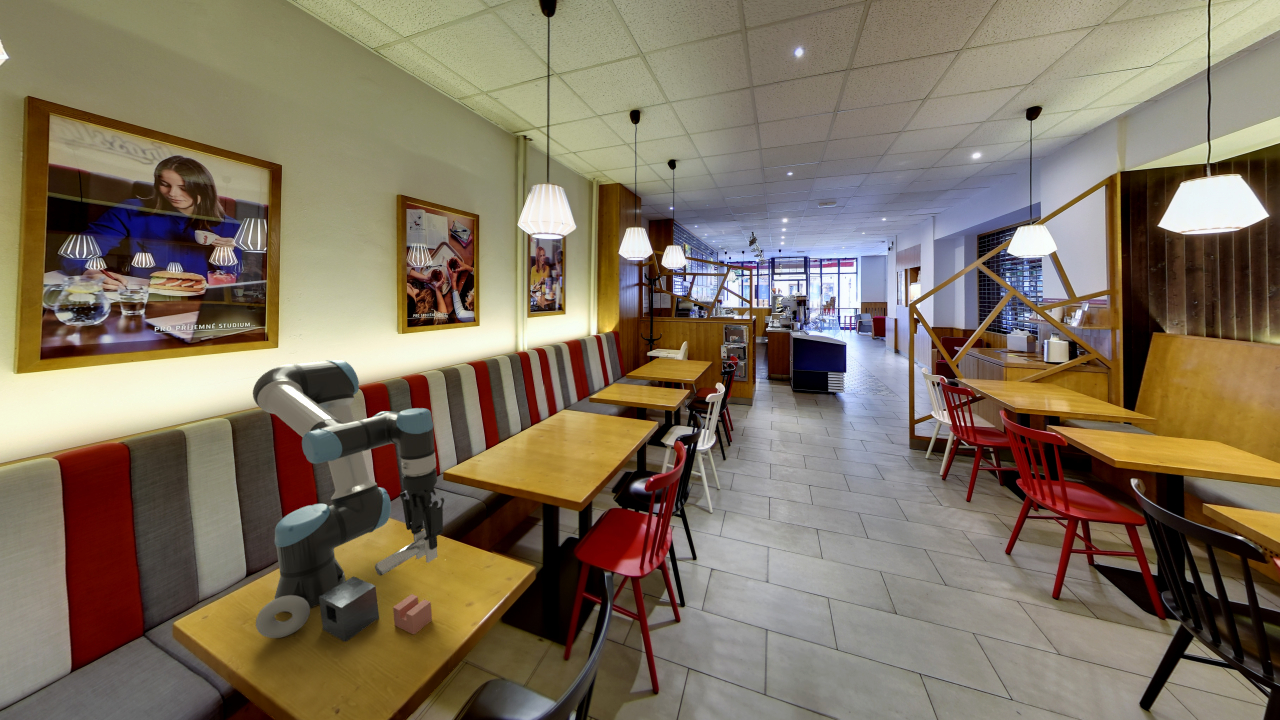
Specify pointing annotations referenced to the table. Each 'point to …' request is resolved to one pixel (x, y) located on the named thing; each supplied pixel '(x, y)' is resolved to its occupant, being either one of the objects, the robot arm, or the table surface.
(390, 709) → the table surface
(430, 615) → the v block
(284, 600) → the donut
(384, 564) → the axle
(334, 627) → the block with square hole
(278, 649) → the table surface
